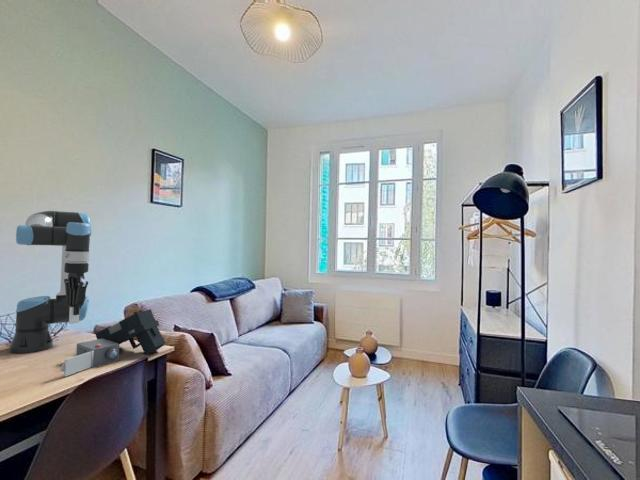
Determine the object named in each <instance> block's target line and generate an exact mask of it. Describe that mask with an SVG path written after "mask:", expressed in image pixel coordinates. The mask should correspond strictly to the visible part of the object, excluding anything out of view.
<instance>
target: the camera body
mask: <svg viewBox="0 0 640 480" xmlns="http://www.w3.org/2000/svg"><path fill="white" fill-rule="evenodd" d="M75 350H76V353H75V356H78V355H81V354H84V353H87V352H90V351H92V350H93V351H94V352H93V367H92V368H96V367H99V366H104V365H106V364H110V363H114V362H117V361H119V360H120V344H118V343H115V342H112V341H109V340H106V339H103V338H102V339H97V338H96V339H94V340H93V339H91V340H88V341H83V342H78V343H76V349H75Z"/></svg>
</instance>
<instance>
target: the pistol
mask: <svg viewBox="0 0 640 480" xmlns="http://www.w3.org/2000/svg"><path fill="white" fill-rule="evenodd" d="M133 313H134V314H132V315H129V316H128V317H125V318H123V319H121V320H120V321H119V322H117V323H116V324H114V325H112V326H110V325H109V326H107V327H106V328H104V329H101V330H100V331H97V332H95V333H94V335H95V337H96V340H97V339H102V338H103V339H106V340H109V341H112V342H115V343H118V344H119V345H121V344H123V343H125V342H129V344H130V345H131V348H132V349H133V350H134V349H135V350H136V349H137V348H138V347H140V346H141V349H142V351H143V352H144V355H145V356H147V355H150V354H152V353H154V352H156V351H158V350H159V349H161V348H162V347H163V346H165V344H166V340H165V339H164V337H163V335H162V334H161V331H160V330H159V328H158V327H159V326H160V323H159V320H158V319H156V318H155V317H154V314H153V312H152V309H151V308H150V309H145V310H142V309H141V310H138V311H134V312H133ZM134 338H136V340H137V344H136V342H135V339H134Z"/></svg>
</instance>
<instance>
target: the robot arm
mask: <svg viewBox="0 0 640 480" xmlns="http://www.w3.org/2000/svg"><path fill="white" fill-rule="evenodd" d="M15 231H16V232H15V233H16V234H15V242H16V244H17V245H20V246H21V245H24V246H55V247H56V246H58V247H59V246H62V248H61V270H60V272H61V273H60V286H59V287H60V289H59V290H60V291H59V292H58V293H56V294H55V298H51V296H50V295H41V296H32V297H28V298H25V299H21V300H19V301H18V302H17V304H16V310H15V313H16V315H15V332H14V335H13V338H12V340H11V342H10V344H9V347H8V352H10V353H11V354H27V353H35V352H40V351H44V350H47V349H49V348H52V347H53V344H54V343H53V339H52V335H51V332H50V329H49V328H50V325H52V324H53V325H54V324H64V323H68V324H70V325H73V324H78V323H79V322H80V321H84V319H85V318H86V317H87V314H88V309H89V302H90V301H89V300H90V297H89V296H86V293H87V288H88V285H89V281H86V280H85V273H88V272H89V263H88V262H89V261H90V242H91V239H90V238H91V236H92V225H91V219H90V216H89V215H88V213H82V212H75V211H74V212H73V211H55V210H47V211H39V212H36V213H33V214H31V215H29V216H28V217H27V219H26V220H25V224H24V225H23V224H22V225H21V224H19V225H18V226H16V230H15Z"/></svg>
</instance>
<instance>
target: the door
mask: <svg viewBox="0 0 640 480" xmlns="http://www.w3.org/2000/svg"><path fill="white" fill-rule="evenodd" d="M93 352H94V351H93V350H92V351H90V352H87V353H84V354H81V355H78V356H76V355H75V356H72V357H71V356H70V357H68V358H66V359H64V363H62V364H61V372H63V376H64V377H68V376H71V375H73V374H75V373H78V372H81V371H84V370H87V369H89V368H90V369H91V368H94V367H93Z"/></svg>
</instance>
